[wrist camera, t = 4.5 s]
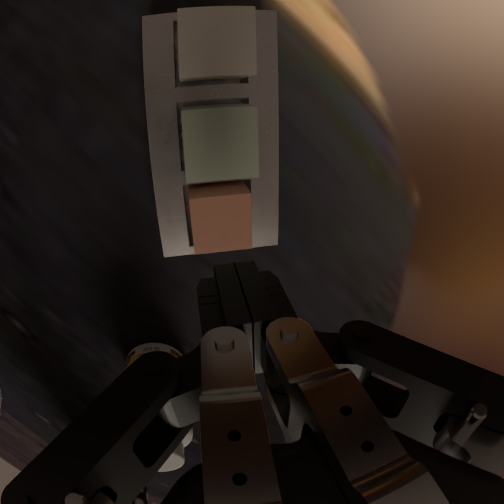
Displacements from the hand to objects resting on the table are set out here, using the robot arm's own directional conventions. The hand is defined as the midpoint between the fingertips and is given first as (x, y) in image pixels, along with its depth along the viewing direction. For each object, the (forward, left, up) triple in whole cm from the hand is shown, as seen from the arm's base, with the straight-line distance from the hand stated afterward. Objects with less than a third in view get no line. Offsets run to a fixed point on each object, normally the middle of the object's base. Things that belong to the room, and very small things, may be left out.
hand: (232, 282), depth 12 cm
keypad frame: (0, +5, -10) cm, 11 cm away
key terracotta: (0, 0, -10) cm, 10 cm away
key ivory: (0, +9, -7) cm, 12 cm away
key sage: (0, +5, -7) cm, 9 cm away
